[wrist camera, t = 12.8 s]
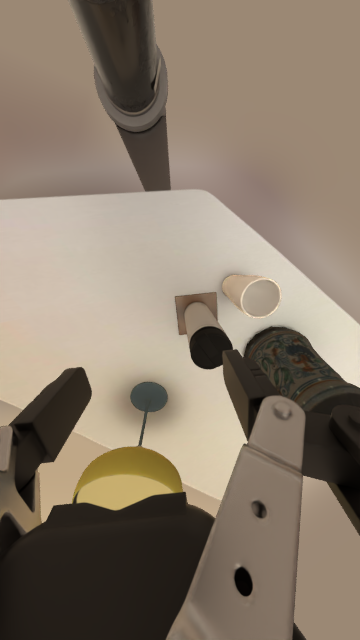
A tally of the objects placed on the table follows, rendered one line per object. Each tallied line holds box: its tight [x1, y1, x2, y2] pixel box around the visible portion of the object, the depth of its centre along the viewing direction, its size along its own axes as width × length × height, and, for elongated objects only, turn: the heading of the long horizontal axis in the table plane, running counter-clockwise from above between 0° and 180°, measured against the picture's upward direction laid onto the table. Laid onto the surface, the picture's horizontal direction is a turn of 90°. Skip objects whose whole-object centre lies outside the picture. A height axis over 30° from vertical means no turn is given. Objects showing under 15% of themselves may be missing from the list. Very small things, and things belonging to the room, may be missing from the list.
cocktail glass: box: [72, 382, 183, 510], centre depth 40 cm, size 18×18×25 cm
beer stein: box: [244, 327, 360, 415], centre depth 37 cm, size 16×19×25 cm
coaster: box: [175, 292, 218, 335], centre depth 44 cm, size 10×10×1 cm
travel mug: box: [184, 302, 233, 369], centre depth 34 cm, size 6×7×20 cm
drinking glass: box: [222, 275, 282, 318], centre depth 35 cm, size 7×7×15 cm
